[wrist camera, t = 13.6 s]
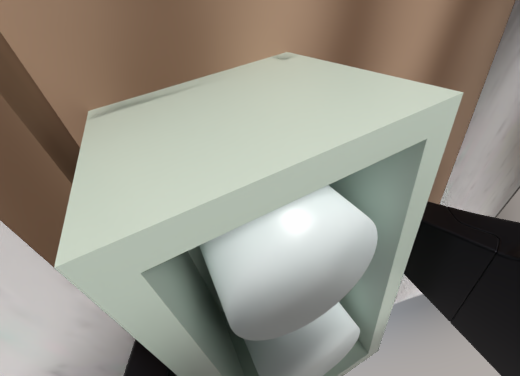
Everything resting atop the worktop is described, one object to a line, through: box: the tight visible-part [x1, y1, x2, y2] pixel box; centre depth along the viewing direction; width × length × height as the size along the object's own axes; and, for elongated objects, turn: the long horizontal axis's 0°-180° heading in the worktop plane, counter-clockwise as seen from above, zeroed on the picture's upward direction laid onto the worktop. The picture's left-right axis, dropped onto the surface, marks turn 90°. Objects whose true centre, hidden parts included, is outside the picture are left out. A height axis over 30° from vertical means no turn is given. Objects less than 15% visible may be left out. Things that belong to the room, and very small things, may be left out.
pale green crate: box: [54, 52, 464, 376], centre depth 9 cm, size 6×11×6 cm, turn 11°
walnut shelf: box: [0, 0, 515, 267], centre depth 12 cm, size 20×18×3 cm
